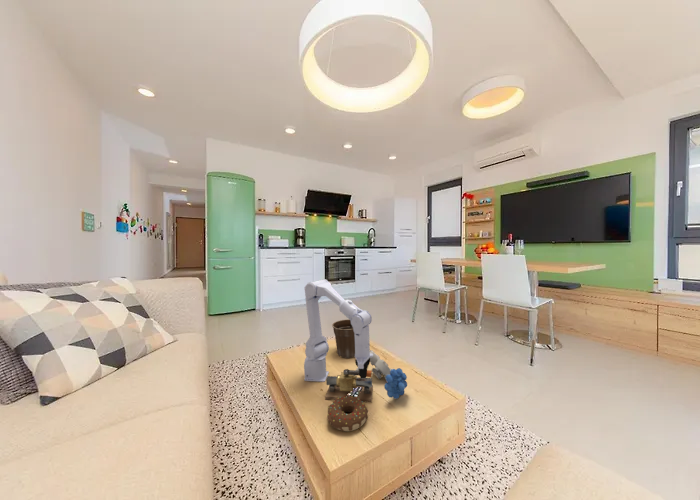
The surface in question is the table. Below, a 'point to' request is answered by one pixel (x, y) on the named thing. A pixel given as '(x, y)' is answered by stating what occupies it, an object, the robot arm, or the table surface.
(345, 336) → the plant pot
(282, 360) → the table surface
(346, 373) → the valve lever
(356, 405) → the donut
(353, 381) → the pipe and valve body
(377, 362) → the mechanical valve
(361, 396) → the walnut board
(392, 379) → the grapes
